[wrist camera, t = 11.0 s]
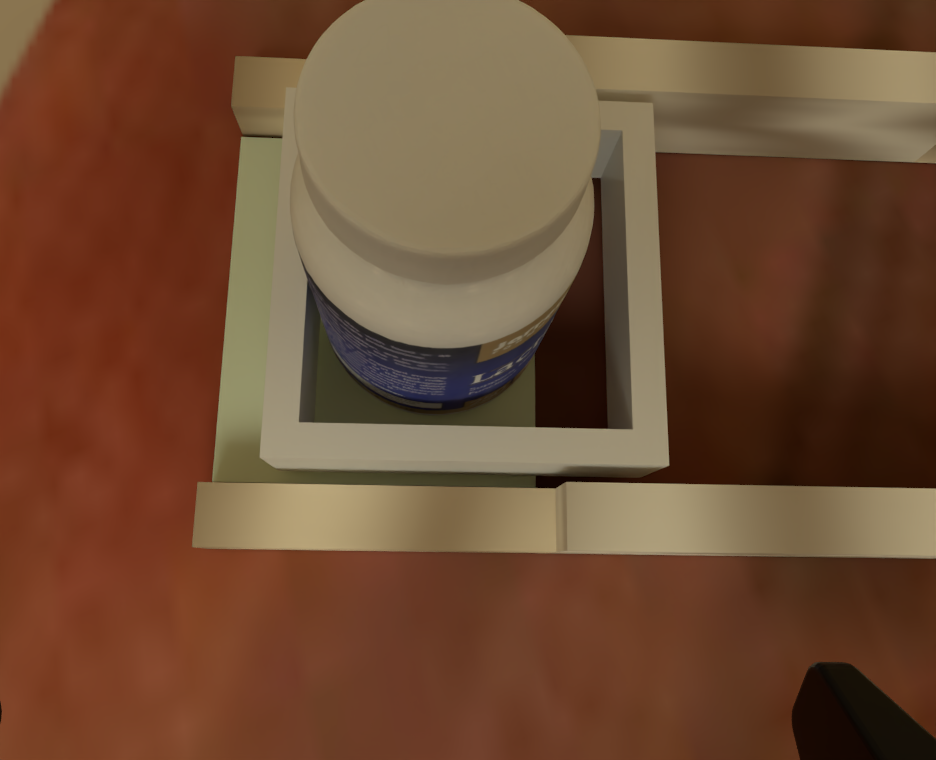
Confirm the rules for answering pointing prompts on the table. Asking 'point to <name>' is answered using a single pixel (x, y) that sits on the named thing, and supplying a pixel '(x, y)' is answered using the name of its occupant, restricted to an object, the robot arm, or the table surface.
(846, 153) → the oak channel
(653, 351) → the collar carriage
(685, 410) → the table surface
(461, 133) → the pill bottle
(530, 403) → the pad
